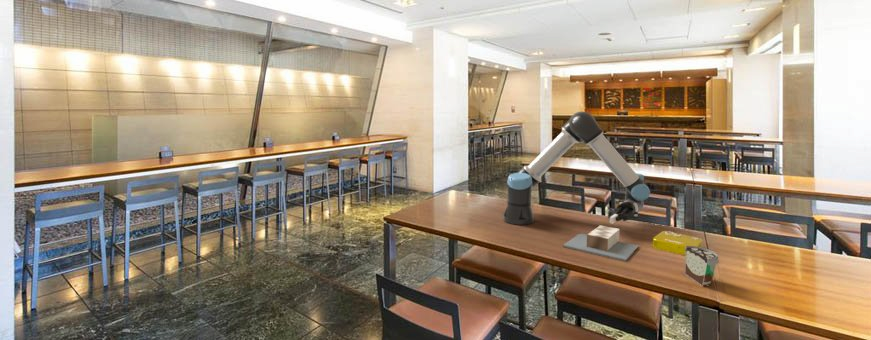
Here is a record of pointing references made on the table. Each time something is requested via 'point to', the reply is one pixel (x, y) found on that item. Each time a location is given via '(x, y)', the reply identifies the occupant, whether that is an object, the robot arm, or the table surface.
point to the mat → (616, 251)
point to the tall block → (603, 238)
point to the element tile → (675, 242)
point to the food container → (700, 264)
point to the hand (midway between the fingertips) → (611, 220)
